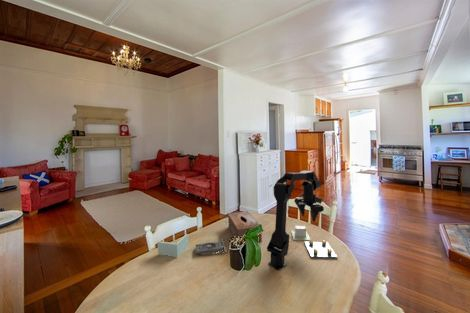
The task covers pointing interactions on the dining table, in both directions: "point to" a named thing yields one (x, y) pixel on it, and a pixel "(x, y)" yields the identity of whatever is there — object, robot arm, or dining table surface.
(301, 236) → the pale grey flanged block
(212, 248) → the graphics card
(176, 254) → the right angle wall
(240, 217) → the tissue box cover
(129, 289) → the dining table surface
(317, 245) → the chassis plate
